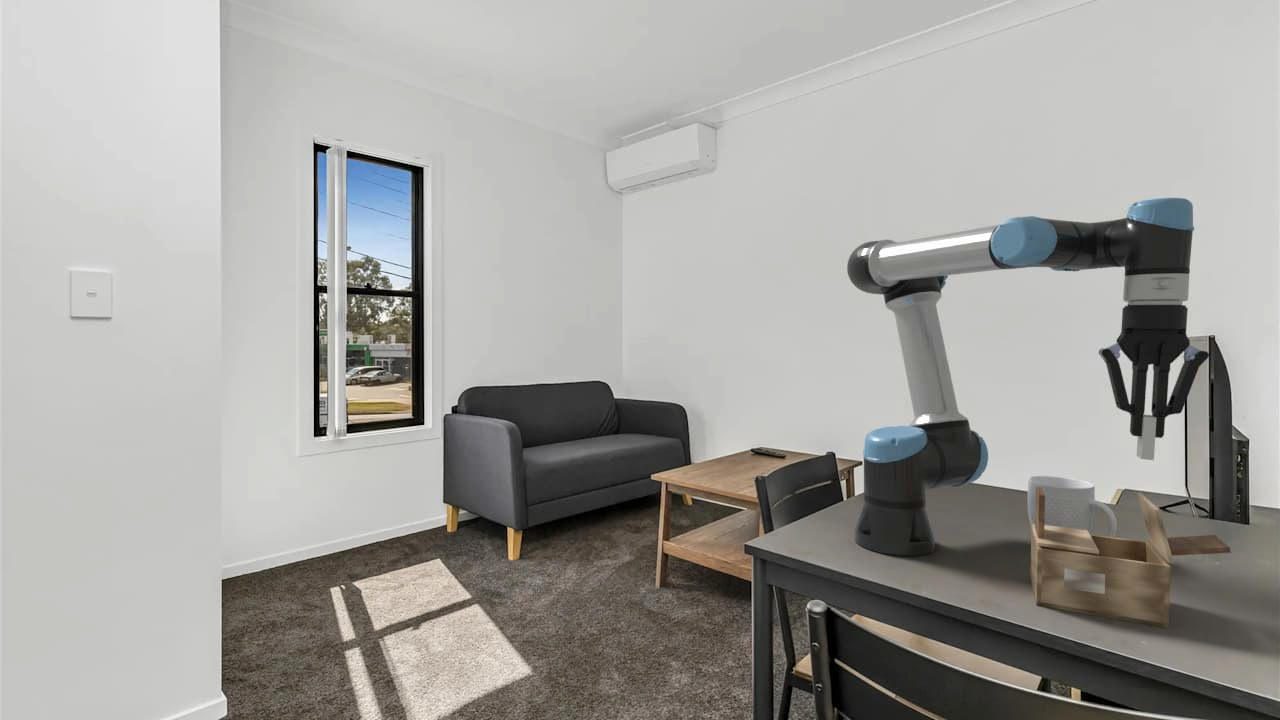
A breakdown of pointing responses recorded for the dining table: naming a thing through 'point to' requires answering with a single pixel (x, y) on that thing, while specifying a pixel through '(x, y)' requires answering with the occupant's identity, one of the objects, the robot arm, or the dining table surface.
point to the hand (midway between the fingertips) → (1145, 457)
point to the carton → (1104, 580)
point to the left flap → (1059, 532)
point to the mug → (1067, 503)
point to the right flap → (1176, 544)
